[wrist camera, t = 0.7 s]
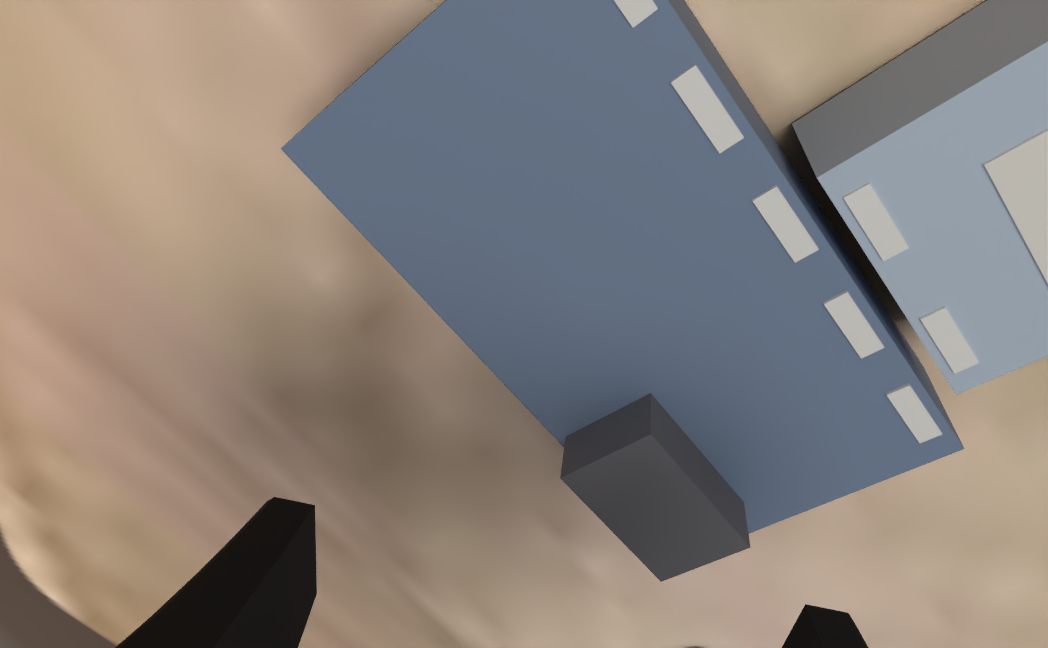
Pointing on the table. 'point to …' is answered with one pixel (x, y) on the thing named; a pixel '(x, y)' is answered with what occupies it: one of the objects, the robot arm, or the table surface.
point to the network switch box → (629, 265)
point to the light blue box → (952, 185)
